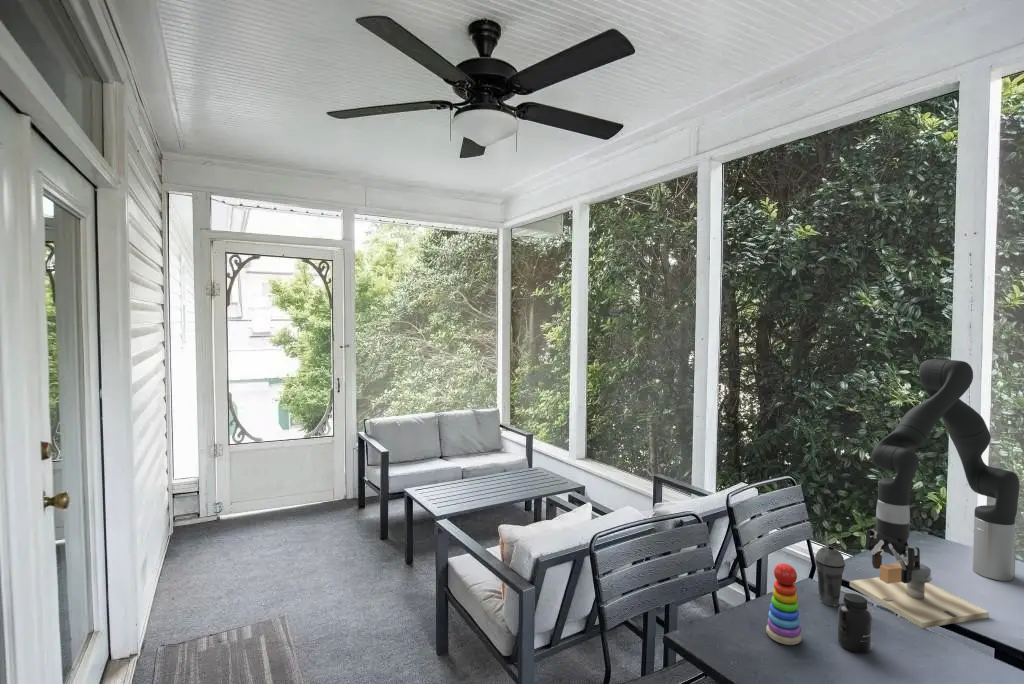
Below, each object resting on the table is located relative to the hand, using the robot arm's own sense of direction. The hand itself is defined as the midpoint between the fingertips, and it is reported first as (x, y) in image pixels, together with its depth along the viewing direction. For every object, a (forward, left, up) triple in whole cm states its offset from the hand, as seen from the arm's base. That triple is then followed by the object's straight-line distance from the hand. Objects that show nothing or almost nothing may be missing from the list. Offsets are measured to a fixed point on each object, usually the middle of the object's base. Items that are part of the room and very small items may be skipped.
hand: (890, 575), depth 145 cm
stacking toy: (+39, +6, -9) cm, 41 cm away
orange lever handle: (-5, 0, -2) cm, 5 cm away
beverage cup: (+15, -5, -9) cm, 18 cm away
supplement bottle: (+25, +13, -9) cm, 30 cm away
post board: (-9, 0, -8) cm, 12 cm away
